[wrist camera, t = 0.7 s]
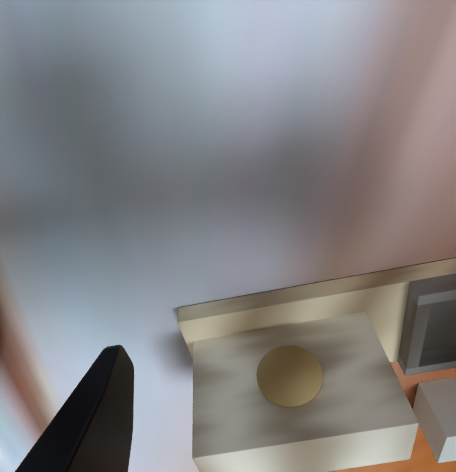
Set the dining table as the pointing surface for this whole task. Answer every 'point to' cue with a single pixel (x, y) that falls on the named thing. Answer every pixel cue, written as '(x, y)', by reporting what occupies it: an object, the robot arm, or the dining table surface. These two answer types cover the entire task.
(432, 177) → the dining table surface
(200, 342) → the mounted unit
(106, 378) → the robot arm
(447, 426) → the grey block
